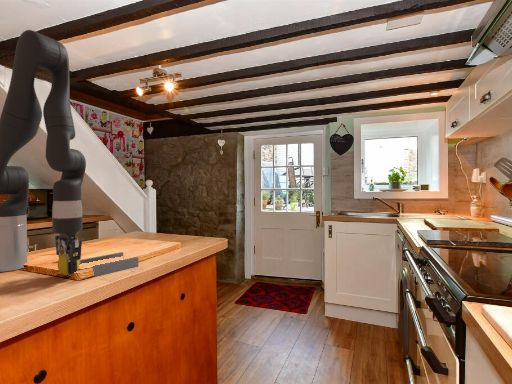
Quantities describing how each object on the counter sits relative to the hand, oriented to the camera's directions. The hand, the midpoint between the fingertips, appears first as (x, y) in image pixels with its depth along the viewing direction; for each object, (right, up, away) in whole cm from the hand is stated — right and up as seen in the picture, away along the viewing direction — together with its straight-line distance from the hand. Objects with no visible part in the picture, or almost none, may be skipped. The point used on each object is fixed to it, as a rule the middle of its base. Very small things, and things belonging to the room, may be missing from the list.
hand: (68, 271), depth 87 cm
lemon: (0, -2, 0) cm, 2 cm away
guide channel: (+8, -1, +9) cm, 12 cm away
